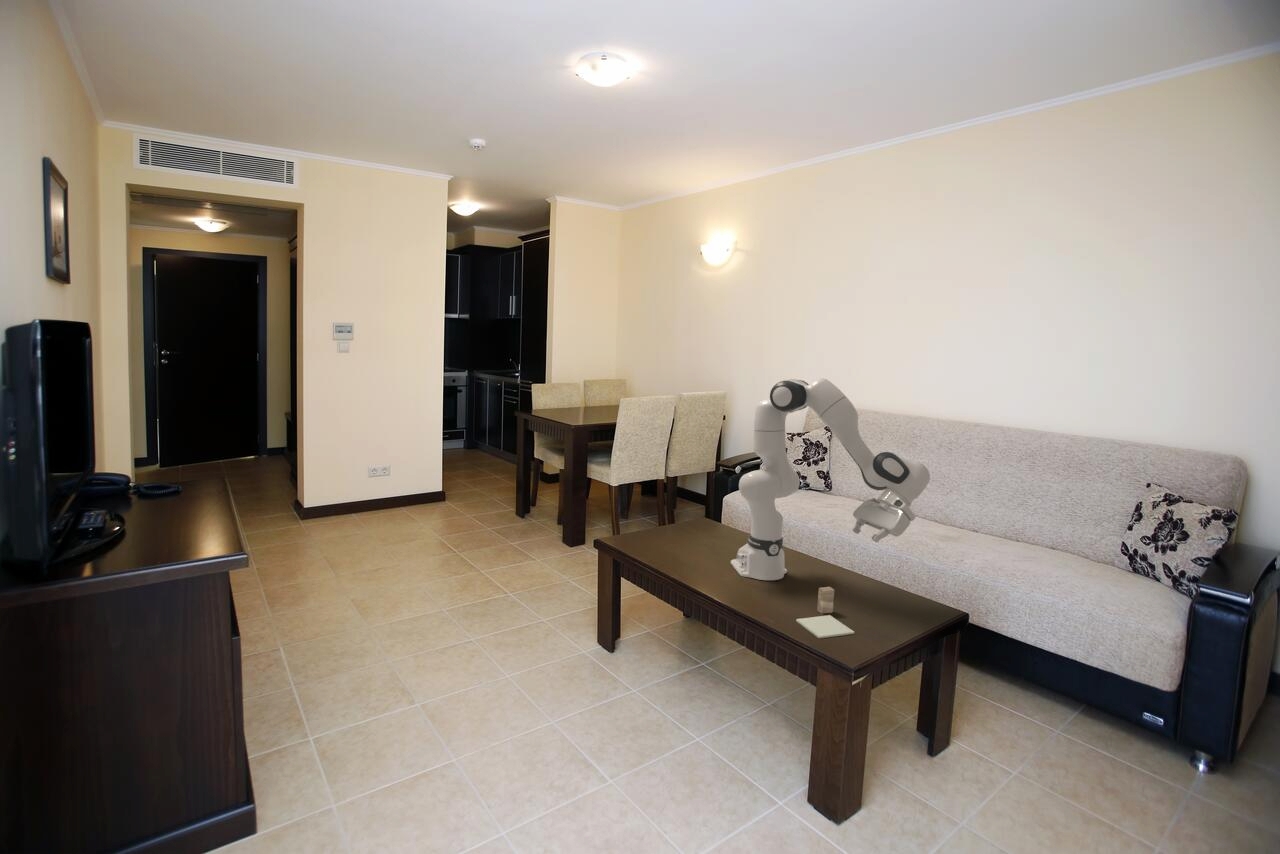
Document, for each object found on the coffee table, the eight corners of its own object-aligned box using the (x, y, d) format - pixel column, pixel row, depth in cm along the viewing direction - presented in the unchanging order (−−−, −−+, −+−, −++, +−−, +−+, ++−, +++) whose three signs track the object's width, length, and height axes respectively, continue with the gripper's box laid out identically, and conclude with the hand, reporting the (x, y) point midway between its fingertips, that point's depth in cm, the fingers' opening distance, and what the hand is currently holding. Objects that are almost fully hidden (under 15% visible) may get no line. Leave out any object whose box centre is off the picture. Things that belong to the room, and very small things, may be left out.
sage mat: (796, 621, 198) (796, 619, 198) (829, 616, 202) (829, 615, 201) (819, 638, 186) (819, 636, 186) (854, 633, 190) (854, 631, 190)
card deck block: (816, 610, 206) (818, 587, 205) (827, 609, 208) (829, 586, 207) (821, 613, 204) (823, 590, 203) (832, 612, 205) (834, 589, 204)
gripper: (865, 491, 217) (838, 521, 215) (909, 505, 198) (880, 539, 196) (875, 503, 219) (849, 533, 217) (919, 519, 200) (891, 552, 198)
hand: (864, 536), depth 206 cm, fingers open, 8 cm apart
